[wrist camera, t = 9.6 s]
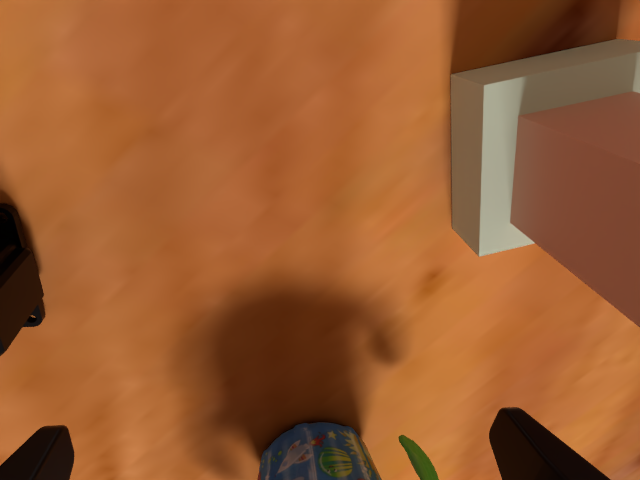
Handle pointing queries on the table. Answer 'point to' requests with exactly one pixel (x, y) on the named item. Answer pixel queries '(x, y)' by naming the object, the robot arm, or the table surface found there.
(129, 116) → the table surface
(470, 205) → the base brick
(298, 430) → the snack cup
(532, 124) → the tall brick
